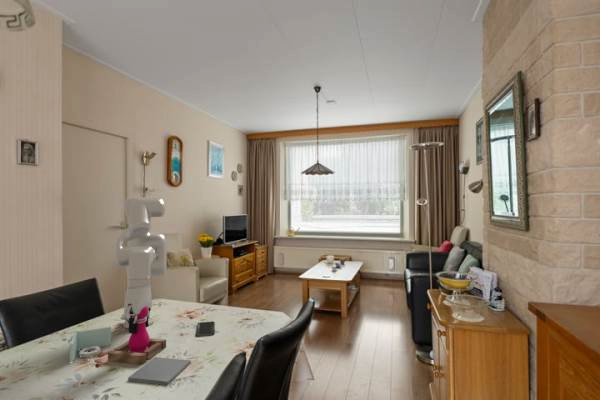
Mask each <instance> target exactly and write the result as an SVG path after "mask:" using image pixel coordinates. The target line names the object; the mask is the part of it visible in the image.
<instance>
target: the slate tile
mask: <svg viewBox="0 0 600 400" xmlns="http://www.w3.org/2000/svg"><path fill="white" fill-rule="evenodd" d="M190 364H192V360H190V359H182V358H180V359H179V358H171V357H161V356H159V357H158V356H154V357H153V358H151V359H150V360H149V361H148V362H146V363H145V364H143V365H142V366H141V367H139V368H138V369H137V370H136V371H135V372H133V373H132V374H130V375H129V376H127V380H128V382H129V381H130V382H138V383H139V382H140V383H146V384H147V383H148V384H157V385H166V386H168V385H170V384H171V382H173V381H174V380H175V379H176V378H177V377H178V376H179V375H180V374H181V373H182V372H184V370H185V369H186V368H187V367H188V366H190Z"/></svg>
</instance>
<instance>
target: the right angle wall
mask: <svg viewBox="0 0 600 400" xmlns="http://www.w3.org/2000/svg"><path fill="white" fill-rule="evenodd" d="M71 338H72V339H71V340H70V343H69V363H70V362H73V363H74V361H75V358H76V356H75V354H76V355H77V353H78V357H79V356H81V357H80V358H82V357H88V358H90V357H89V356H93V357H95V356H96V355H95V354H97V355H98V354H100V353H101V347H106V345H107V346H111V345H112V326H107V327H106V326H104V327H99V328H93V329H92V328H91V329H86V330H79V331H75V332H74V333H73V335H72V337H71ZM100 346H101V347H100ZM79 349H82V350H79ZM77 350H78V351H77ZM87 351H90V352H87ZM76 352H77V353H76ZM85 352H87V353H85ZM74 357H75V358H74ZM73 360H74V361H73Z"/></svg>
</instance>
